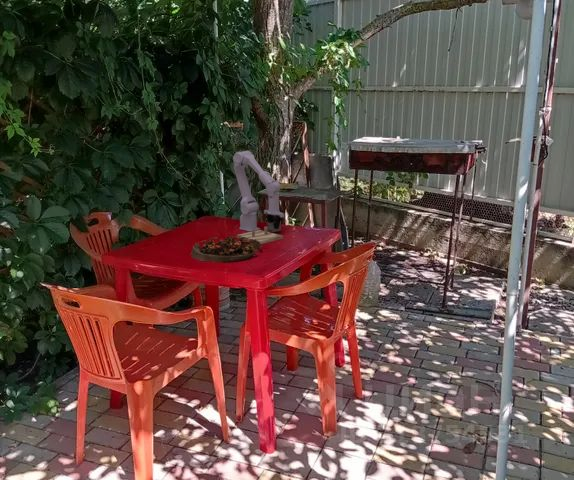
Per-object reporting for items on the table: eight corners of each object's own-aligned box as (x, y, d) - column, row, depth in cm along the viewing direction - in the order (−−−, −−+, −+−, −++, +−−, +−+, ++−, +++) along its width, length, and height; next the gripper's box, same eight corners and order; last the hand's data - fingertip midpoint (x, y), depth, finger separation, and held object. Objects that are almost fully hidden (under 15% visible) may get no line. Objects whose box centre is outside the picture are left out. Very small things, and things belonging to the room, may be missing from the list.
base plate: (237, 237, 315) (236, 227, 313) (259, 232, 325) (259, 222, 324) (259, 244, 301) (259, 233, 300) (282, 238, 312) (282, 228, 310)
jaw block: (267, 231, 323) (267, 222, 322) (275, 229, 327) (275, 220, 326) (272, 232, 320) (272, 223, 319) (280, 230, 324) (280, 221, 323)
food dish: (250, 243, 308) (250, 229, 306) (271, 261, 278) (271, 245, 276) (183, 248, 295) (183, 233, 293) (198, 268, 266) (198, 251, 264)
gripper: (259, 203, 322) (260, 227, 326) (277, 206, 312) (277, 231, 315) (269, 201, 327) (269, 225, 330) (286, 204, 316) (287, 229, 320)
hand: (274, 228), depth 323 cm, fingers closed on jaw block, 4 cm apart
